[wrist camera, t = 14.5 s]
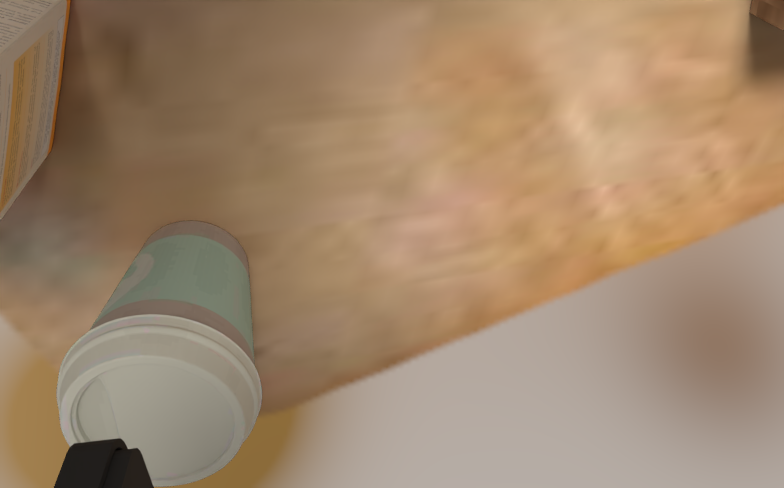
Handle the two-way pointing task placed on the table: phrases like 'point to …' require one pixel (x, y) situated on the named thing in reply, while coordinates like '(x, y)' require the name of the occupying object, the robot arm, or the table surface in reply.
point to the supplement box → (28, 88)
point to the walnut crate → (769, 11)
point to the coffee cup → (170, 358)
